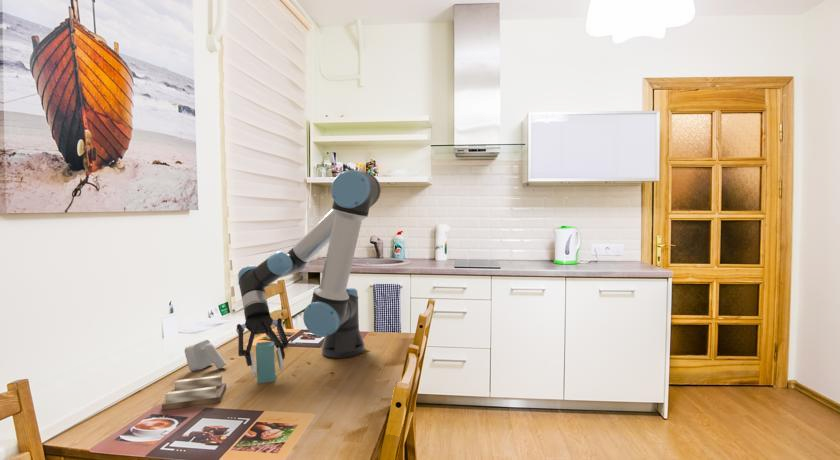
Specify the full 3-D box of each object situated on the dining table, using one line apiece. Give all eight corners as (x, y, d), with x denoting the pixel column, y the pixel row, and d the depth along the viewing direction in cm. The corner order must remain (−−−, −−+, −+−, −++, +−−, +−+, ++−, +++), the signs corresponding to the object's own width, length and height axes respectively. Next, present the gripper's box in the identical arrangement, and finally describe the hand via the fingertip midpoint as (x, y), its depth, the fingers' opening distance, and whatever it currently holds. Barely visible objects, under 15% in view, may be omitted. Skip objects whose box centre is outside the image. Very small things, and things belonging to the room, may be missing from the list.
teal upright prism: (275, 375, 137) (274, 341, 136) (275, 381, 132) (273, 345, 132) (258, 378, 135) (257, 342, 135) (257, 383, 131) (255, 347, 131)
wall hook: (218, 372, 140) (210, 341, 140) (191, 378, 142) (183, 348, 142) (234, 363, 148) (226, 334, 148) (208, 369, 150) (200, 340, 150)
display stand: (226, 388, 128) (225, 374, 128) (220, 402, 118) (219, 387, 118) (172, 394, 124) (171, 381, 124) (162, 410, 115) (161, 395, 115)
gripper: (285, 310, 151) (300, 370, 138) (222, 319, 141) (231, 385, 128) (288, 297, 147) (304, 358, 133) (223, 305, 137) (233, 372, 123)
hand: (268, 371), depth 131 cm, fingers open, 7 cm apart
